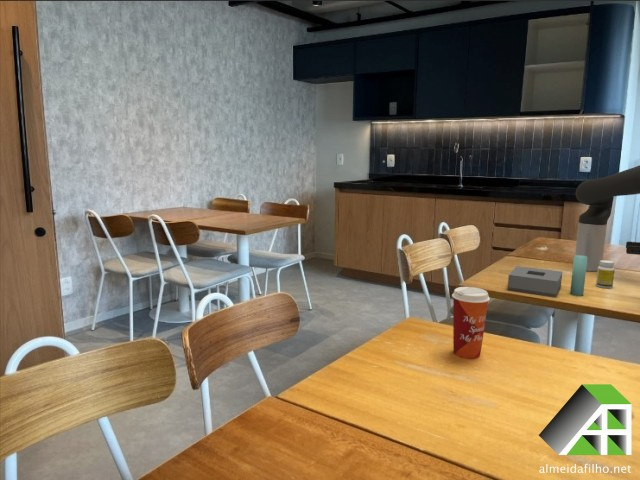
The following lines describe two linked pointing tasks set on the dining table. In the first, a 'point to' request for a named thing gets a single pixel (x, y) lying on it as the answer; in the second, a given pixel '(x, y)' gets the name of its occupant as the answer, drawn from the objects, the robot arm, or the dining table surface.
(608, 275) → the supplement bottle
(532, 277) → the socket block
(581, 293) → the pin
